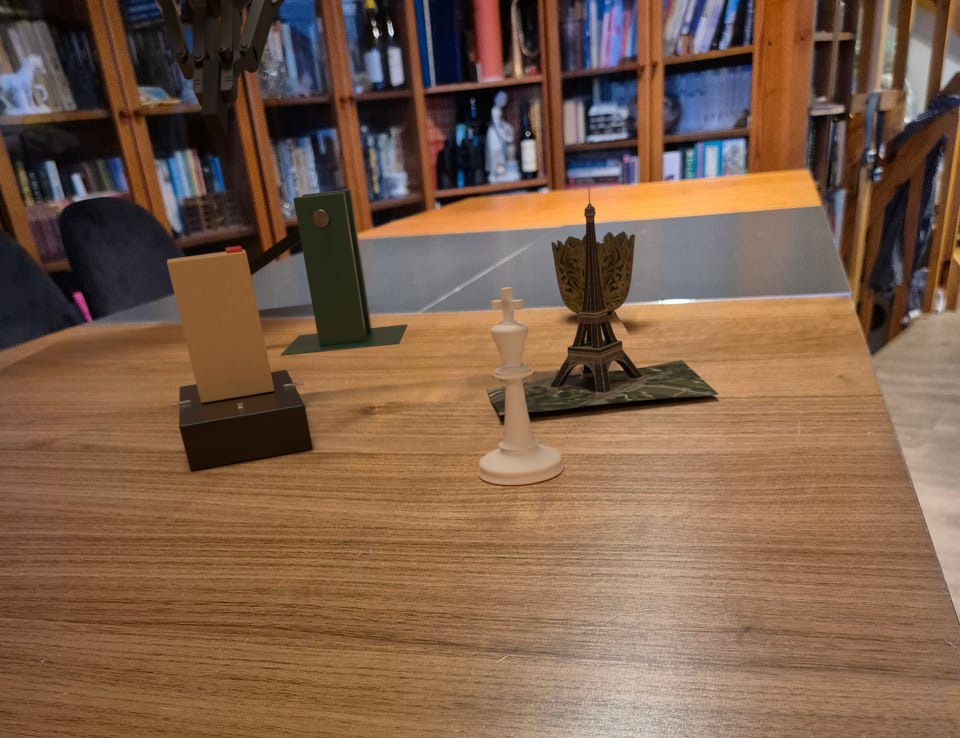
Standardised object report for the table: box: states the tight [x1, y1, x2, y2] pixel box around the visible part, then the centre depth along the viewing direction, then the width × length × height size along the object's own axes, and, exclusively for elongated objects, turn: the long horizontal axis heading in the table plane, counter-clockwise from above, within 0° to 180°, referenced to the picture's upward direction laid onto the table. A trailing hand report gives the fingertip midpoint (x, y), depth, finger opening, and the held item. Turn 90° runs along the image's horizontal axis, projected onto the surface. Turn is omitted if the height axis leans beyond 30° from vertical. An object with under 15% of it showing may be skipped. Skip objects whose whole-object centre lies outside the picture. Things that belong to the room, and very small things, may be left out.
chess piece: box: [478, 286, 565, 486], centre depth 51 cm, size 5×5×10 cm
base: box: [168, 369, 314, 472], centre depth 65 cm, size 12×9×3 cm
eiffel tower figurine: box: [486, 188, 720, 417], centre depth 63 cm, size 15×10×13 cm
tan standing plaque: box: [166, 245, 274, 403], centre depth 62 cm, size 5×2×9 cm, turn 106°
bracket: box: [280, 188, 408, 357], centre depth 86 cm, size 11×9×14 cm
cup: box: [551, 230, 636, 322], centre depth 85 cm, size 8×7×8 cm
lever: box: [248, 227, 301, 277], centre depth 85 cm, size 13×8×2 cm, turn 89°
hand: (214, 126), depth 86 cm, fingers closed
